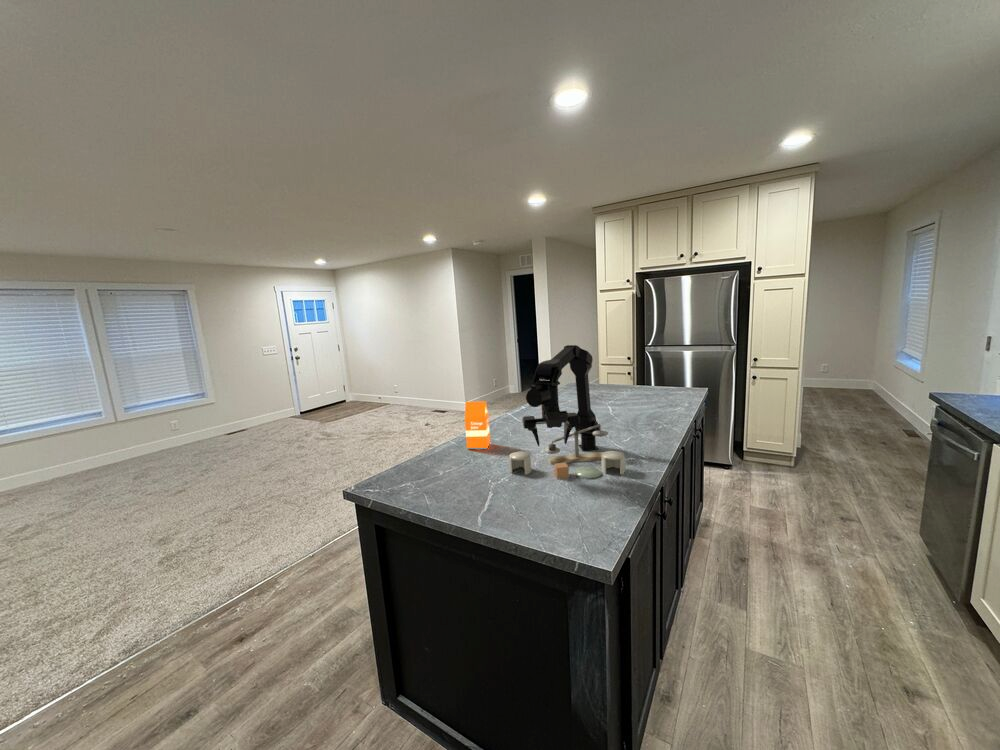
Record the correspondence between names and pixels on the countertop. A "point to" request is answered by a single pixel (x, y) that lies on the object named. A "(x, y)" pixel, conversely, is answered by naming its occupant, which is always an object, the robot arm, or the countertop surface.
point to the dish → (587, 472)
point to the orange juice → (477, 425)
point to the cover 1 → (520, 461)
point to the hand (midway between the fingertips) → (552, 444)
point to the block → (561, 470)
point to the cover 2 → (613, 460)
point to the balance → (577, 456)
